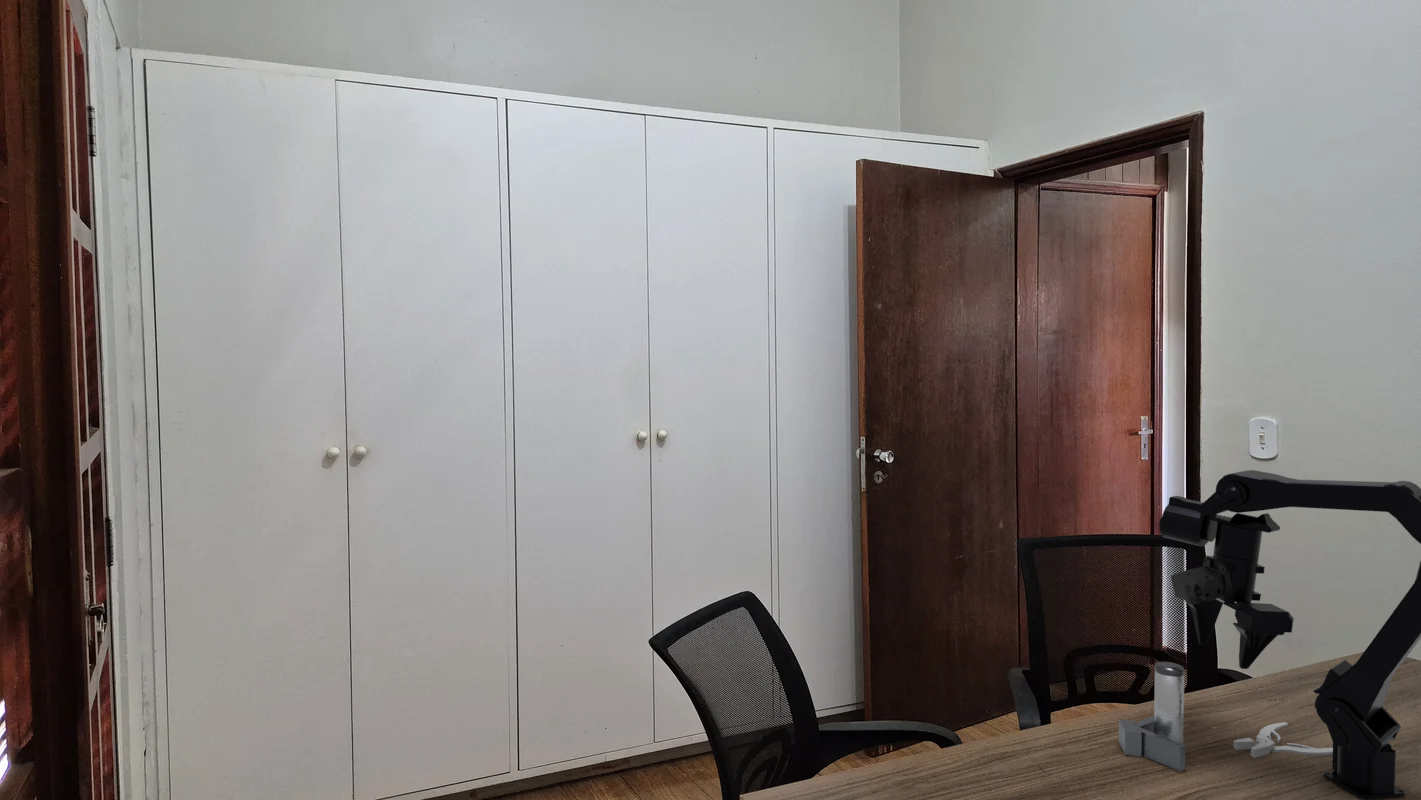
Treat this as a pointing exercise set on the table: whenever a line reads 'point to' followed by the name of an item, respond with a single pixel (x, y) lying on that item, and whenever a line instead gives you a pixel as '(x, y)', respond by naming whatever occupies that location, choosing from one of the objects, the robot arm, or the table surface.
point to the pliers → (1267, 745)
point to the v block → (1150, 743)
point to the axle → (1169, 700)
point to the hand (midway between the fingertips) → (1222, 655)
